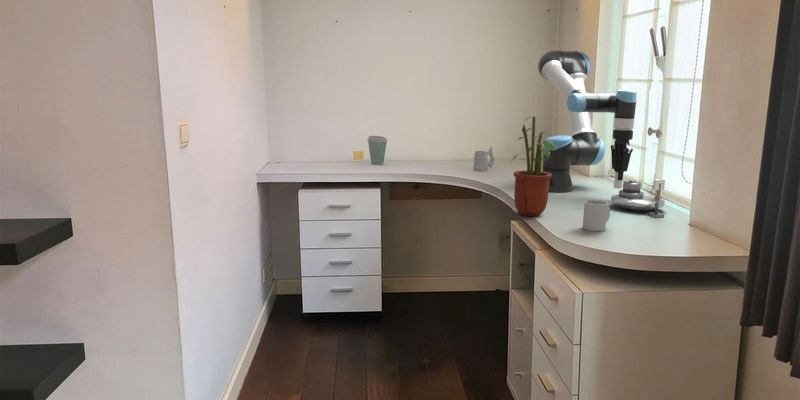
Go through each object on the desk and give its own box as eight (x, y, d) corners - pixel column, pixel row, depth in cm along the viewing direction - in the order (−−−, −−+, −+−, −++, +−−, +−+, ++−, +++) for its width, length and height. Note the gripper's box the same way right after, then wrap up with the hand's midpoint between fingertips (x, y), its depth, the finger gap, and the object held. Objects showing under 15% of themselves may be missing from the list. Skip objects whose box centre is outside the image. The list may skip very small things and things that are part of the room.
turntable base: (631, 212, 227) (631, 206, 226) (615, 205, 237) (616, 200, 237) (658, 211, 228) (658, 206, 228) (641, 205, 239) (642, 200, 239)
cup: (577, 227, 201) (579, 201, 199) (599, 224, 206) (601, 198, 204) (594, 232, 195) (597, 205, 193) (616, 229, 200) (618, 202, 198)
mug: (470, 169, 321) (471, 146, 319) (489, 168, 326) (490, 146, 323) (477, 171, 314) (478, 148, 312) (497, 171, 319) (498, 148, 316)
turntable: (627, 208, 222) (630, 185, 220) (601, 198, 240) (603, 176, 238) (675, 207, 225) (677, 185, 223) (646, 197, 243) (648, 176, 242)
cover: (626, 199, 232) (627, 183, 230) (614, 194, 240) (615, 179, 239) (648, 198, 233) (649, 182, 232) (635, 194, 242) (636, 179, 241)
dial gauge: (653, 217, 218) (657, 180, 216) (644, 213, 224) (648, 178, 222) (664, 217, 219) (668, 180, 217) (654, 213, 225) (658, 178, 222)
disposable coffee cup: (390, 163, 334) (391, 136, 332) (379, 166, 326) (379, 137, 323) (374, 162, 340) (375, 135, 337) (363, 164, 331) (363, 136, 328)
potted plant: (541, 220, 210) (548, 117, 203) (499, 214, 218) (504, 115, 211) (557, 211, 224) (564, 115, 217) (517, 206, 232) (523, 113, 225)
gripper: (641, 130, 236) (635, 190, 241) (623, 127, 248) (617, 185, 253) (623, 130, 235) (617, 191, 239) (606, 127, 247) (601, 185, 252)
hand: (617, 187), depth 246 cm, fingers closed
